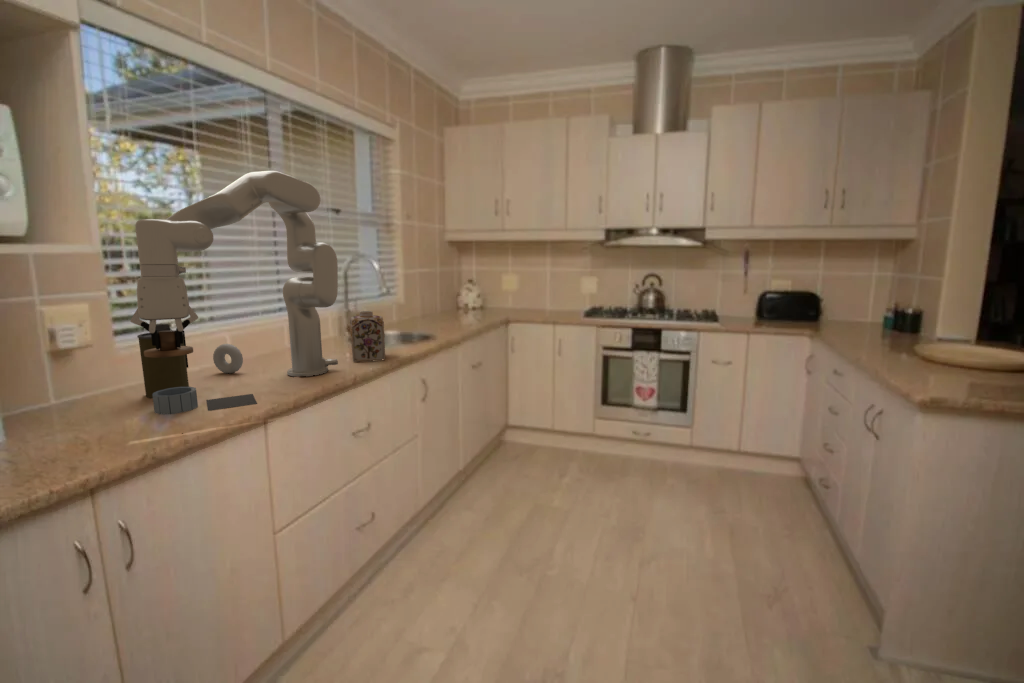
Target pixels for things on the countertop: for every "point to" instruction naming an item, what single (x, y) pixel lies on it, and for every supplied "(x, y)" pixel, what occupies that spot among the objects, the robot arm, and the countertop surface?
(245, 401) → the mat
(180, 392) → the grey short cylinder
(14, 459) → the countertop surface
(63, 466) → the countertop surface
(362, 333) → the decorative jar
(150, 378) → the canister
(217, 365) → the donut
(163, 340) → the lid
